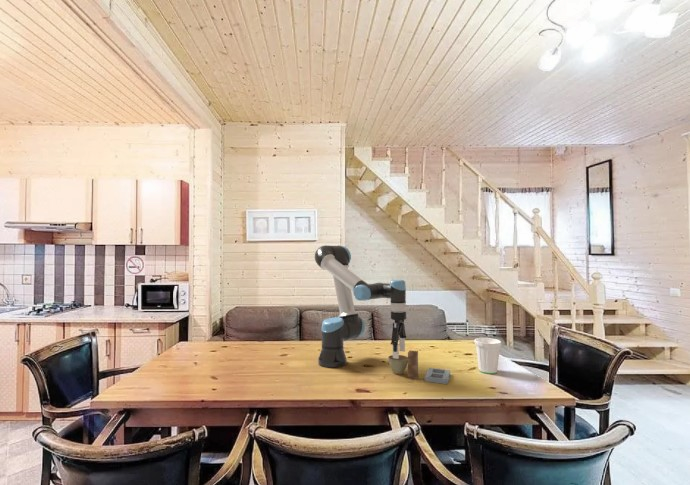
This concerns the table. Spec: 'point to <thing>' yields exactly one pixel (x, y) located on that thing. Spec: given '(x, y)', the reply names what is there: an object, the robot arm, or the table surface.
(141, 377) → the table surface
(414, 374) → the peg
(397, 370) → the flower pot
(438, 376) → the grey window frame
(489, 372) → the cup
